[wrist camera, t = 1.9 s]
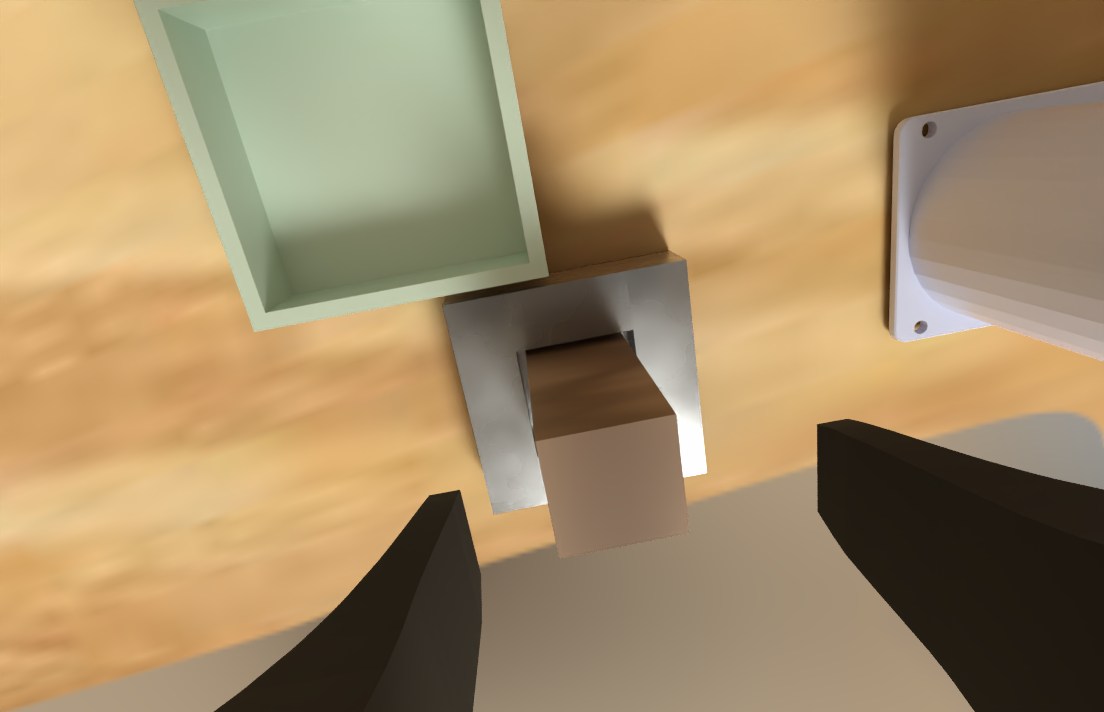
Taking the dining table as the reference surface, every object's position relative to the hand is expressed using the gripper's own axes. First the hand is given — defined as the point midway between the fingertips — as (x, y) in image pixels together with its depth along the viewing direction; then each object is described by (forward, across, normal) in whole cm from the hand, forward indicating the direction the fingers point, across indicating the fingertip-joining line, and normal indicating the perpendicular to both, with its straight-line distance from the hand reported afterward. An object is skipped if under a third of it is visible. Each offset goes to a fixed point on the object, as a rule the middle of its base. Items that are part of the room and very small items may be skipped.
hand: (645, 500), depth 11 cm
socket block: (+10, 0, +1) cm, 11 cm away
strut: (+10, 0, +1) cm, 10 cm away
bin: (+10, +5, -8) cm, 14 cm away
